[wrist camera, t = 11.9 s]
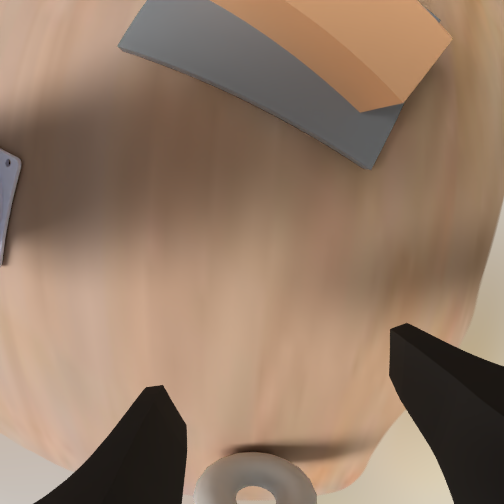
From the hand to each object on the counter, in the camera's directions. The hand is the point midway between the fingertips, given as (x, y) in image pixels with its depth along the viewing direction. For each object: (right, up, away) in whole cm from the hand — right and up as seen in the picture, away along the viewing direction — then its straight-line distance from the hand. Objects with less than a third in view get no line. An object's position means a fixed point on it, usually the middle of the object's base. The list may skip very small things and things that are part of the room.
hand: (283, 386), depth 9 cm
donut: (-1, -14, +15) cm, 20 cm away
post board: (+1, +17, +4) cm, 18 cm away
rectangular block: (+2, +17, +3) cm, 17 cm away
